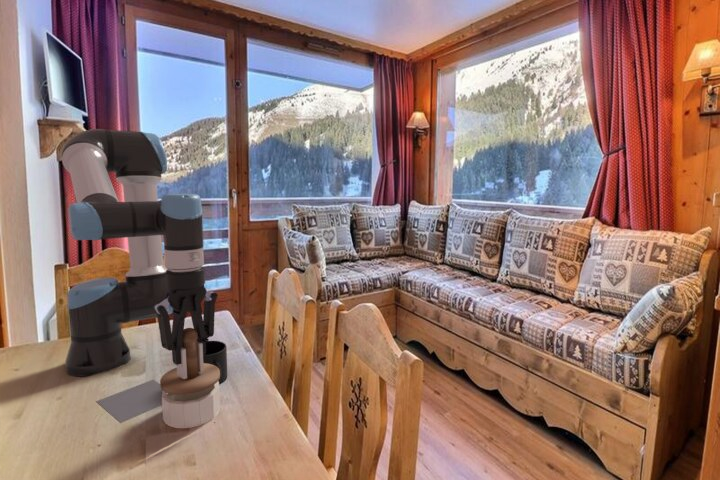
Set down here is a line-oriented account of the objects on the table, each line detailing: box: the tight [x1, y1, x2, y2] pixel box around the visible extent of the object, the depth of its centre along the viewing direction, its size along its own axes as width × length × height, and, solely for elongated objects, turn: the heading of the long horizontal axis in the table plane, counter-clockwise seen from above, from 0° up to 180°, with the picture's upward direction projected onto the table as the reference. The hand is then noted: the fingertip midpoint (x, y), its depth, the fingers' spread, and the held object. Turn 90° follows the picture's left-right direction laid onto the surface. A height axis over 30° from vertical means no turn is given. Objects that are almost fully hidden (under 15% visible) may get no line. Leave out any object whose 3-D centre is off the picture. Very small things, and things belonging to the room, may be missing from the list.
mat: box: [95, 379, 163, 424], centre depth 93 cm, size 13×13×1 cm
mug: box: [203, 340, 228, 386], centre depth 102 cm, size 9×12×9 cm
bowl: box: [161, 381, 221, 429], centre depth 88 cm, size 12×12×6 cm
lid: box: [159, 327, 220, 395], centre depth 86 cm, size 12×12×12 cm
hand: (190, 373), depth 87 cm, fingers closed on lid, 3 cm apart
